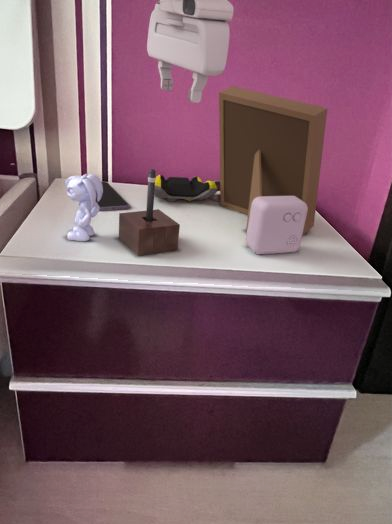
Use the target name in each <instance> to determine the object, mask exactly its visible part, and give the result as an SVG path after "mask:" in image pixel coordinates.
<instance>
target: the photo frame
mask: <svg viewBox="0 0 392 524" xmlns="http://www.w3.org/2000/svg"><path fill="white" fill-rule="evenodd" d="M218 116H219V118H218V120H219V124H218V126H219V127H218V128H219V181H220V190H219V193H220V194H219V195H220V201H219V202H220V203H219V205H220V206H222V207H224V208H227V209H230V210H234V211H235V212H238V213H241V214H244V215H246V216H247V218H246V226H245V227H246V228H245V231H247V229H248V223H249V216H250V210H251V204H252V201H253V200H254V199H255V198H256V197H259V196H296V197H297V198H299V199H300V200H302V201H303V202H305V203H306V204H307V207H308V211H307V215H306V220H305V225H304V229H303V234H302V236H304V235H306V233H307V232H309V231H310V230H311V229H312V228H313V227H314V226H315V219H316V212H317V211H316V210H317V201H318V195H319V184H320V176H321V168H322V167H321V166H322V158H323V151H324V150H323V149H324V143H325V142H324V141H325V133H326V124H327V116H328V107H324V106H320V105H315V104H312V103H308V102H302V101H299V100H295V99H289V98H286V97H280V96H277V95H273V94H268V93H264V92H259V91H255V90H252V89H251V90H250V89H246V88H242V87H238V86H233V85H232V86H230V87H228V88H225V89H223V90H220V91H219V92H218Z"/></svg>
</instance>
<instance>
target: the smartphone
mask: <svg viewBox="0 0 392 524" xmlns="http://www.w3.org/2000/svg"><path fill="white" fill-rule="evenodd" d="M101 182H102V185H103V194H102V197H101V199H100V201H99V202H97V192H96V202H97V204H98V205H99V211H114V210H115V211H116V210H126V209H128V208H129V203H128V202H127V201H126V200H125V198H123V197H122V196H121V195H120V193H118V192H117V190H115V188H113V186H112V185H111V184H110V183H109V182H108V181H104V180H103V181H102V180H101ZM95 191H96V190H95Z"/></svg>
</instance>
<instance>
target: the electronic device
mask: <svg viewBox="0 0 392 524" xmlns="http://www.w3.org/2000/svg"><path fill="white" fill-rule="evenodd" d="M307 211H308V207H307V204H306V203H305V202H303V201H302V200H300V199H299V198H297V197H296V196H259V197H256V198H255V199H254V200H253V201H252V204H251V210H250V216H249V223H248V229H247V230H246V236H245V245H246V246H247V247H248V248H249V249H250V250H251V251H252V252H253V253H255V254H257V255H273V254H286V253H295V252H297V251H298V250H299V249H300V247H301V243H302V237H303V235H302V234H303V229H304V225H305V220H306V215H307Z"/></svg>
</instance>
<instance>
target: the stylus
mask: <svg viewBox="0 0 392 524" xmlns="http://www.w3.org/2000/svg"><path fill="white" fill-rule="evenodd" d="M156 176H157V175H156V170H155V169H154V168H150V169H149V171H148V176H147V196H146V210H147V211H146V210H145V211H146V222H149V221H153V210H154V206H155V205H154V204H155V195H154V190H155V179H156Z"/></svg>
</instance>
